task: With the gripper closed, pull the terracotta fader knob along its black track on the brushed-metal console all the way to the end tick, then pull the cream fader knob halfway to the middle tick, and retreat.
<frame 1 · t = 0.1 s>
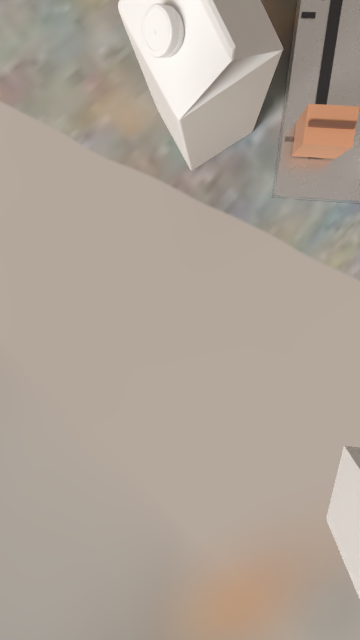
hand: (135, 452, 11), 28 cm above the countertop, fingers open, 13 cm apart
fader a: (323, 132, 30), point 4 cm above the countertop, slide at 0.0 cm
milk carton: (204, 120, 35), on the countertop
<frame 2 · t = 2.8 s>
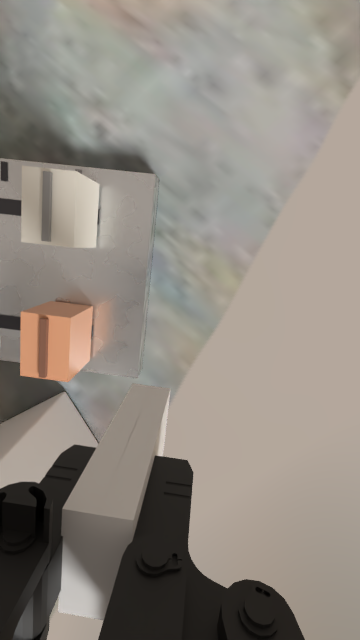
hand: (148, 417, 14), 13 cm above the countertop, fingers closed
fader b: (62, 210, 21), point 4 cm above the countertop, slide at 0.0 cm
fader a: (57, 339, 22), point 4 cm above the countertop, slide at 0.0 cm
milk carton: (55, 440, 29), on the countertop
console: (6, 262, 26), on the countertop
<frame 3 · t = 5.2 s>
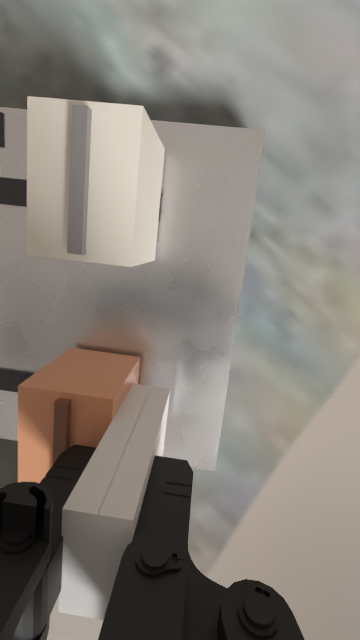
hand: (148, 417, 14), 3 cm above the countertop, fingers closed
fader b: (102, 194, 11), point 4 cm above the countertop, slide at 0.0 cm
fader a: (84, 421, 13), point 4 cm above the countertop, slide at 0.3 cm, touching gripper
milk carton: (77, 542, 20), on the countertop
console: (5, 282, 17), on the countertop
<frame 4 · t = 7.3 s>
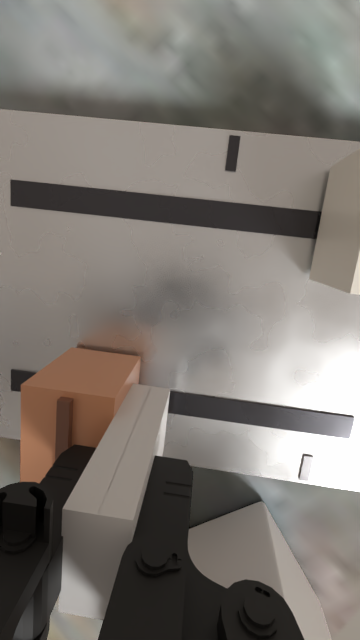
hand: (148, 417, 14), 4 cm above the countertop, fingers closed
fader a: (85, 420, 13), point 4 cm above the countertop, slide at 9.2 cm, touching gripper
milk carton: (232, 567, 19), on the countertop
console: (189, 305, 16), on the countertop
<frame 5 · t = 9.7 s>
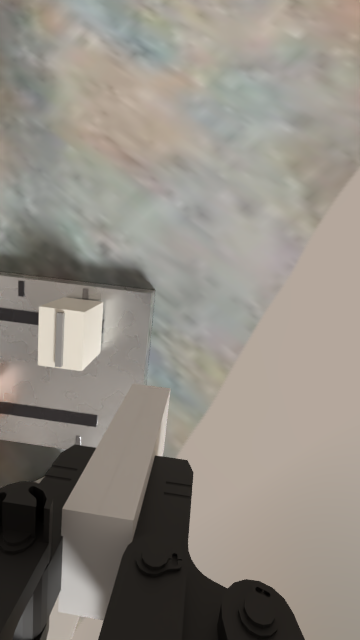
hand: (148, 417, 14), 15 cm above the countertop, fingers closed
fader b: (71, 332, 24), point 4 cm above the countertop, slide at 0.0 cm
milk carton: (63, 504, 33), on the countertop
console: (21, 355, 30), on the countertop
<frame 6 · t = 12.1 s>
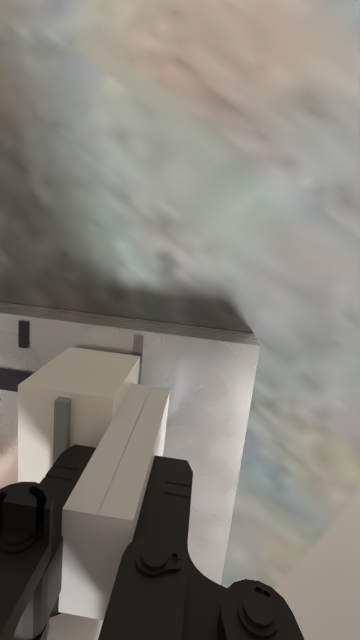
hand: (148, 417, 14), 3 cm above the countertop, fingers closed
fader b: (84, 420, 13), point 4 cm above the countertop, slide at 1.3 cm, touching gripper
console: (25, 434, 18), on the countertop
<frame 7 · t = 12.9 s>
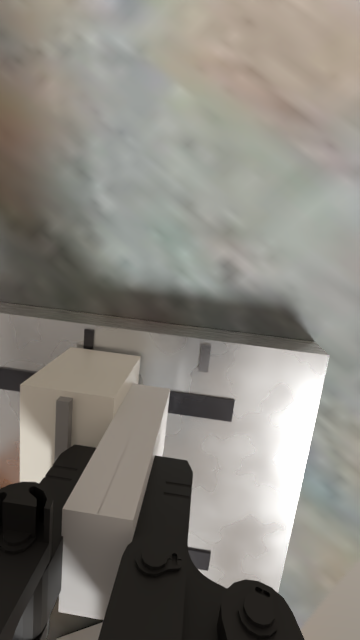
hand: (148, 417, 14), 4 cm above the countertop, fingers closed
fader b: (85, 419, 13), point 4 cm above the countertop, slide at 4.2 cm, touching gripper
console: (78, 441, 18), on the countertop
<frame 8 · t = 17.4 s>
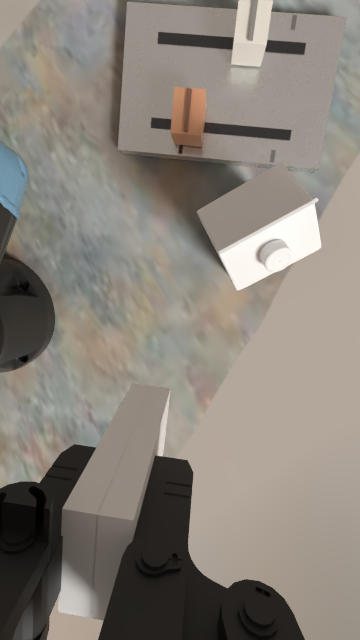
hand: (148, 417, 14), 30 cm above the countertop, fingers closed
fader b: (251, 30, 33), point 4 cm above the countertop, slide at 4.2 cm
fader a: (189, 118, 35), point 4 cm above the countertop, slide at 9.2 cm
milk carton: (241, 234, 41), on the countertop
console: (224, 95, 38), on the countertop
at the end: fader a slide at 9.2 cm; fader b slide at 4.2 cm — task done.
